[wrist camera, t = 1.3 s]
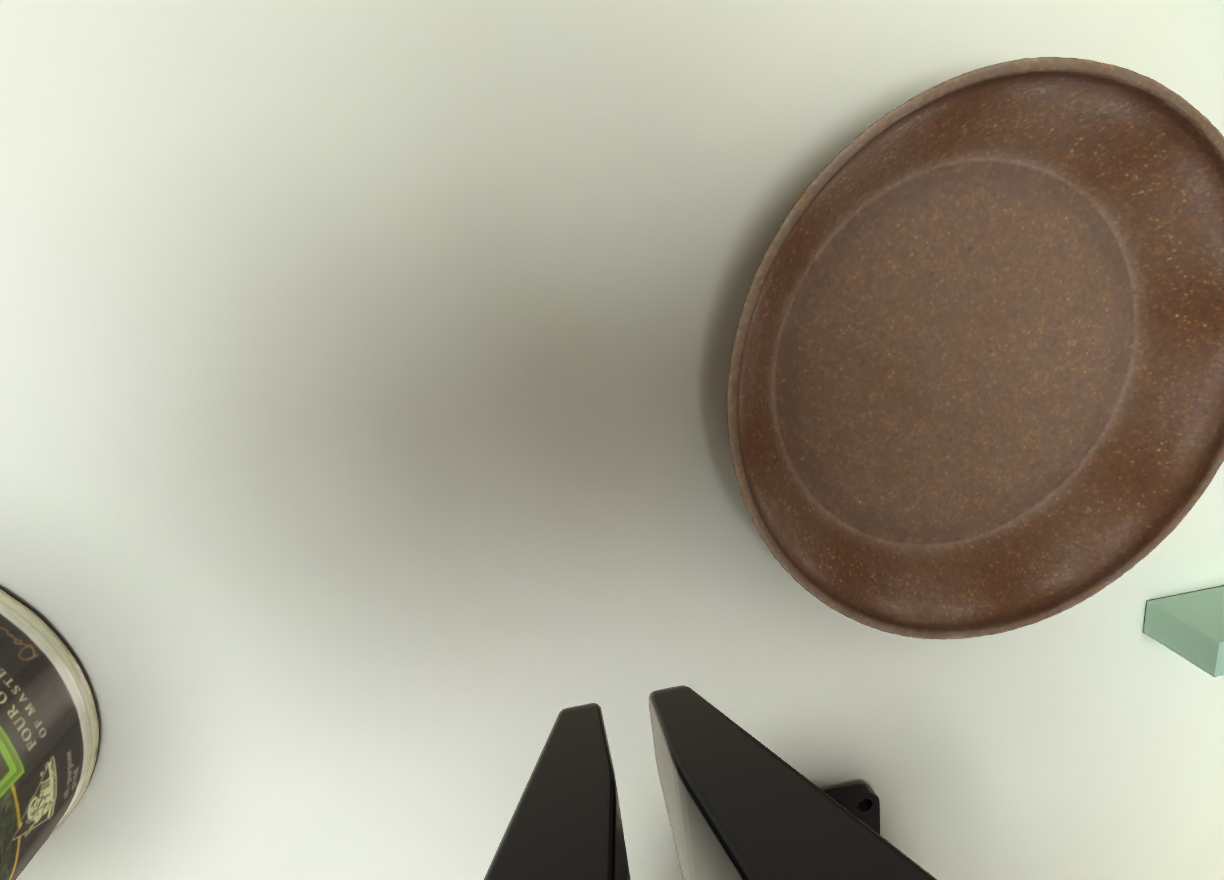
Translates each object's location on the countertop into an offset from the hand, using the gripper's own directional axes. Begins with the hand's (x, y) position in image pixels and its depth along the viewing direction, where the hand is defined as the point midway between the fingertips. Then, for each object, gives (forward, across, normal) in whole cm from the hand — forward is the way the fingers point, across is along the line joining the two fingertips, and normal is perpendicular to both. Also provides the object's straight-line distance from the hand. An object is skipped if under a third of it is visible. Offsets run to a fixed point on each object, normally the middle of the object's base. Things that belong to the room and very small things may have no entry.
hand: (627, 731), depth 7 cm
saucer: (+12, -12, 0) cm, 17 cm away
